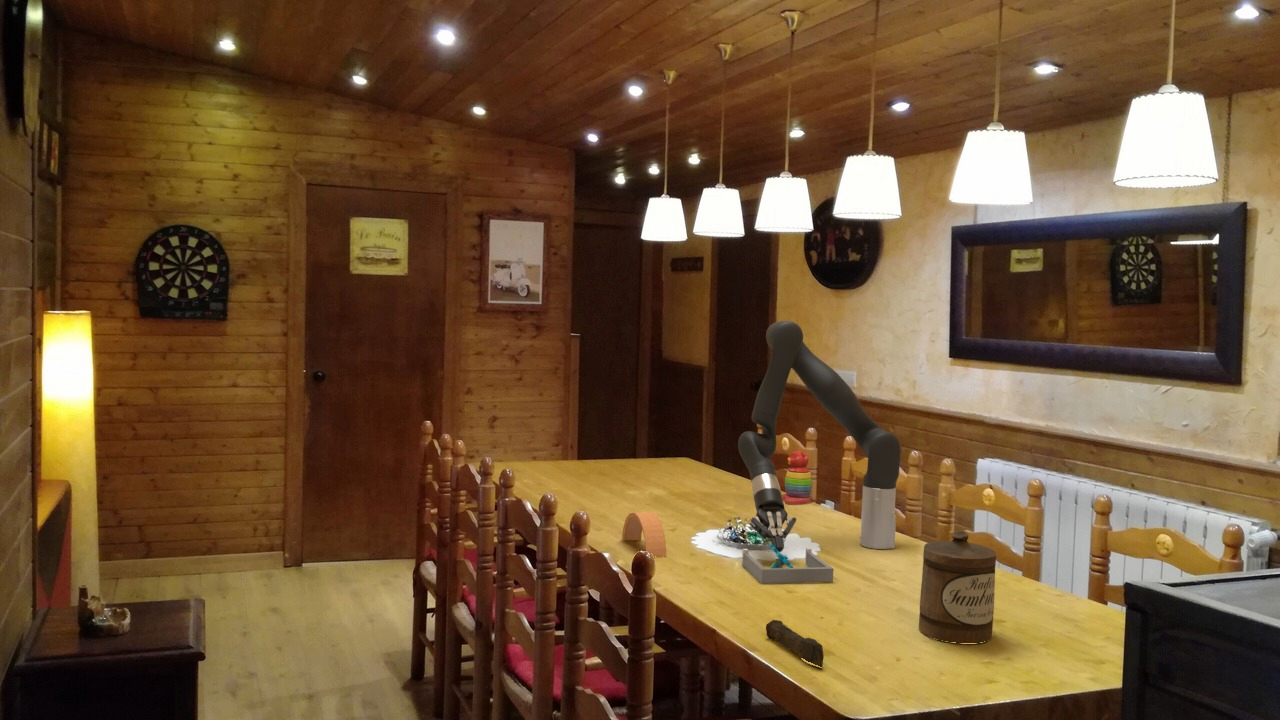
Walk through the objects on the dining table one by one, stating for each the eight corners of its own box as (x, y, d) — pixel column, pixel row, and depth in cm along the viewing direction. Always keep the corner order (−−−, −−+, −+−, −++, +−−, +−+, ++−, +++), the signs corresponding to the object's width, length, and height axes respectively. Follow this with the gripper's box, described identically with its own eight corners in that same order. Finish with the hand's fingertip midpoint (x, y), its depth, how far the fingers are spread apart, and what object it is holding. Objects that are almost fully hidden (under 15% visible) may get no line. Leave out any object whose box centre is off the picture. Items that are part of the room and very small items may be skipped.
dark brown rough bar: (764, 638, 204) (765, 616, 204) (782, 637, 206) (782, 615, 205) (808, 672, 186) (809, 648, 186) (827, 670, 188) (828, 646, 187)
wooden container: (955, 649, 201) (960, 541, 200) (903, 626, 214) (909, 525, 213) (1007, 639, 208) (1013, 535, 207) (955, 618, 221) (960, 520, 220)
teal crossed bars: (802, 574, 247) (774, 544, 248) (785, 590, 247) (757, 560, 248) (797, 568, 258) (771, 539, 259) (781, 584, 258) (754, 555, 259)
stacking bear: (778, 498, 351) (780, 448, 350) (806, 498, 353) (808, 448, 351) (786, 504, 341) (788, 453, 340) (815, 505, 342) (817, 453, 341)
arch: (645, 558, 264) (646, 521, 263) (621, 540, 283) (623, 506, 282) (666, 557, 266) (667, 520, 265) (641, 539, 285) (642, 505, 284)
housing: (742, 565, 260) (742, 548, 259) (809, 564, 263) (810, 547, 263) (761, 583, 243) (762, 566, 243) (832, 582, 247) (833, 564, 246)
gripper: (746, 486, 266) (758, 543, 254) (794, 486, 268) (807, 543, 257) (740, 502, 271) (751, 558, 260) (787, 502, 273) (799, 558, 262)
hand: (779, 550), depth 258 cm, fingers closed
